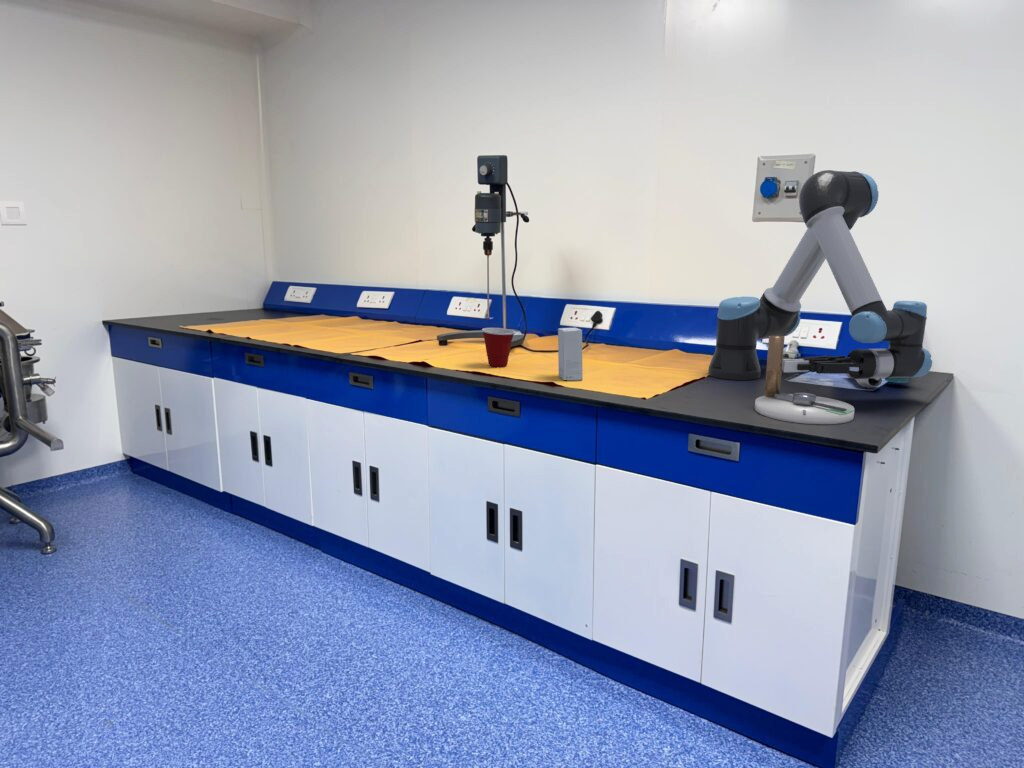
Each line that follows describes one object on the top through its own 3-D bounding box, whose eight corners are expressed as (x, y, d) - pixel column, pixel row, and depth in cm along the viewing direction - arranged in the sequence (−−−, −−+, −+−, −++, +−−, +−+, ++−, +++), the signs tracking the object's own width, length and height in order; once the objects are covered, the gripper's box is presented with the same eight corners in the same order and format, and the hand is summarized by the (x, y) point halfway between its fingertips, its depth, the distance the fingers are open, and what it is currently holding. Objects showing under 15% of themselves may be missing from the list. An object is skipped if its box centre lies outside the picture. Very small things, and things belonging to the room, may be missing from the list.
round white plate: (752, 418, 162) (753, 409, 162) (756, 398, 182) (757, 390, 182) (857, 428, 154) (858, 418, 154) (850, 406, 174) (851, 397, 174)
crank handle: (851, 410, 160) (858, 346, 157) (838, 413, 158) (845, 347, 155) (772, 393, 178) (776, 334, 175) (759, 395, 175) (764, 336, 172)
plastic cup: (508, 370, 219) (508, 332, 217) (476, 367, 223) (476, 330, 221) (520, 364, 229) (520, 328, 227) (489, 362, 233) (489, 326, 231)
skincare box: (582, 380, 204) (584, 330, 201) (562, 381, 203) (563, 330, 200) (576, 375, 212) (577, 326, 209) (556, 375, 211) (557, 326, 208)
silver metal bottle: (865, 378, 209) (887, 392, 190) (840, 377, 210) (860, 391, 191) (867, 356, 208) (889, 369, 188) (843, 356, 209) (862, 368, 190)
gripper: (885, 384, 171) (795, 386, 167) (849, 372, 185) (765, 374, 182) (889, 354, 169) (798, 355, 166) (852, 344, 183) (767, 346, 180)
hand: (781, 365), depth 174 cm, fingers closed on crank handle, 2 cm apart
